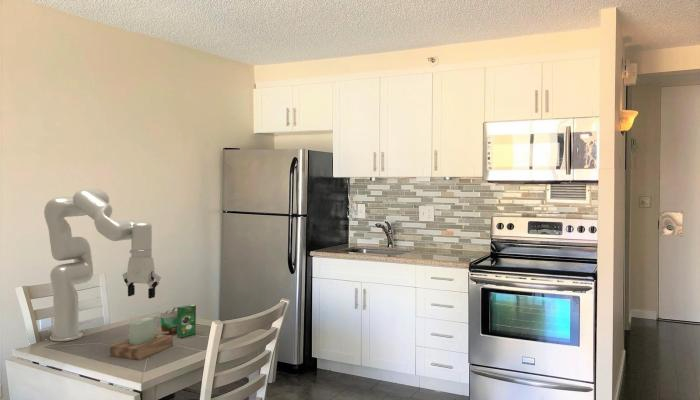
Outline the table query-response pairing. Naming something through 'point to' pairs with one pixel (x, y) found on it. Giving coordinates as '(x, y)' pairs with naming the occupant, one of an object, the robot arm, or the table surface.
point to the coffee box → (186, 320)
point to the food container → (169, 322)
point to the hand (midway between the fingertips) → (141, 296)
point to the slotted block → (141, 347)
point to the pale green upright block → (141, 331)
